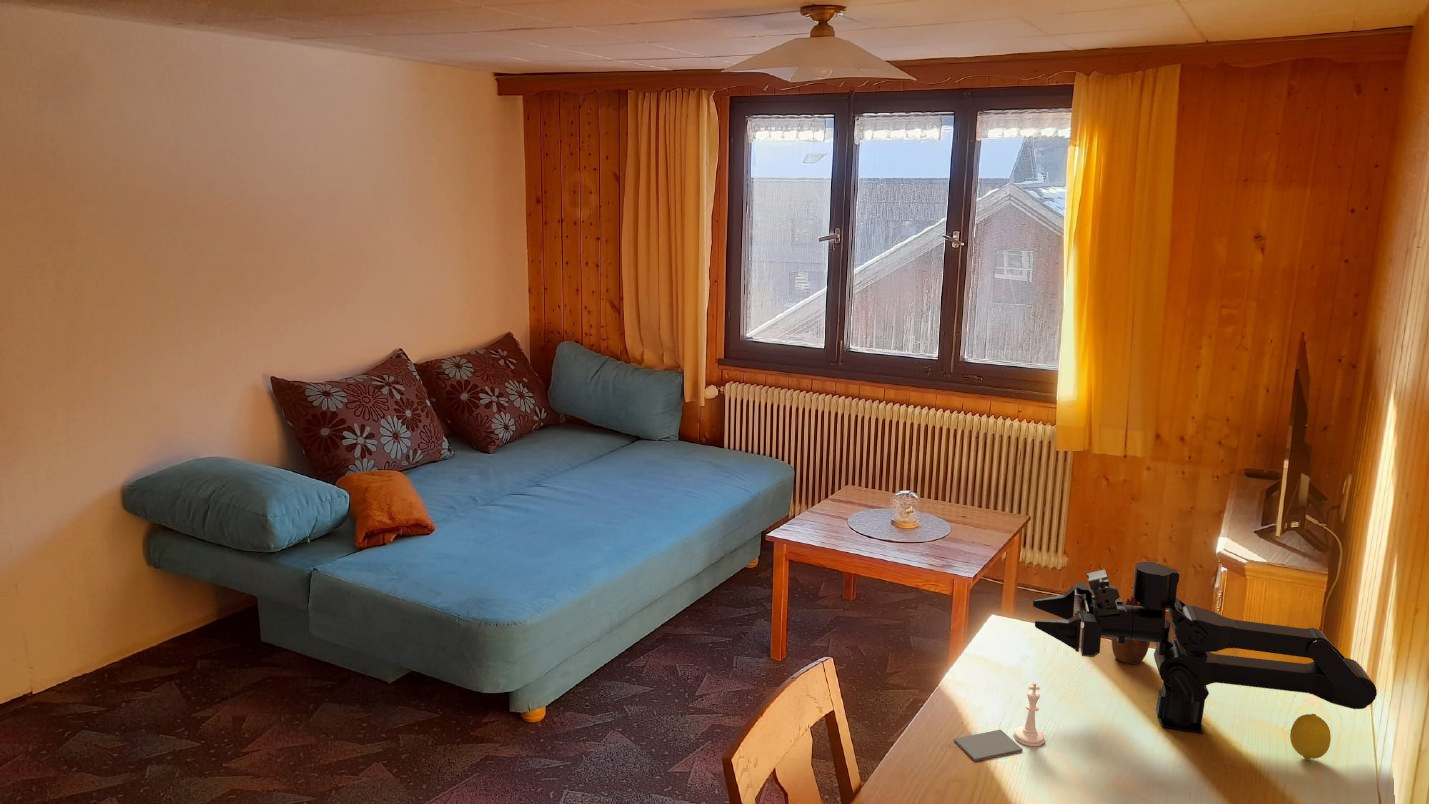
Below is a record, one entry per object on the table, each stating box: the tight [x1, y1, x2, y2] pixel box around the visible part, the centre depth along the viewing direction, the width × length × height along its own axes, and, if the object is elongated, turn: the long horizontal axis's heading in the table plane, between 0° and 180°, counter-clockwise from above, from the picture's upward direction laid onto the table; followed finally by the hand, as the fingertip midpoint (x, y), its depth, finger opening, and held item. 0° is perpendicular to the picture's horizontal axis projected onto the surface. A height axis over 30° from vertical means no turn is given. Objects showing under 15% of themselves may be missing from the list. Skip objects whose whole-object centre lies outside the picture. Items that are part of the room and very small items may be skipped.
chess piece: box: [1013, 682, 1046, 747], centre depth 166 cm, size 5×5×10 cm
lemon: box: [1289, 713, 1332, 761], centre depth 161 cm, size 6×6×8 cm
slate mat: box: [953, 729, 1023, 762], centre depth 164 cm, size 9×6×1 cm, turn 109°
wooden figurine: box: [1110, 594, 1151, 665], centre depth 192 cm, size 7×6×15 cm
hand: (1033, 613), depth 175 cm, fingers open, 9 cm apart
